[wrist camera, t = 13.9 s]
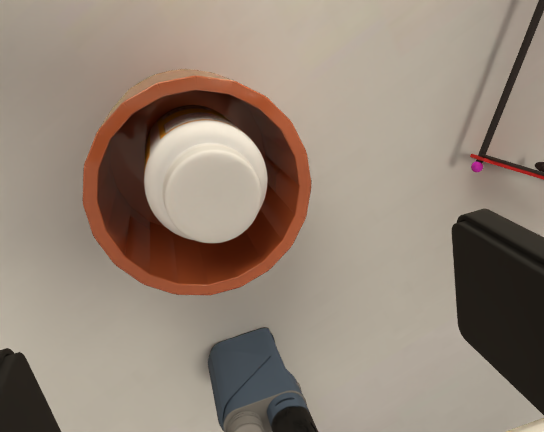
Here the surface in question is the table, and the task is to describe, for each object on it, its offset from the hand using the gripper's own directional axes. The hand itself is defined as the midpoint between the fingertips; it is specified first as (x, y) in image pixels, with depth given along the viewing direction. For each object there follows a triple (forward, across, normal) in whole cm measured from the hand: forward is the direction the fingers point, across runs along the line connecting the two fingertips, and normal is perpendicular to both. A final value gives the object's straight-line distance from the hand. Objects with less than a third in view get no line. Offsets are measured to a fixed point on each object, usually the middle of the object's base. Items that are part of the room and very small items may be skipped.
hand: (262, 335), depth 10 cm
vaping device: (+21, 0, +15) cm, 26 cm away
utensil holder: (+21, 0, +1) cm, 21 cm away
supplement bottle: (+21, 0, 0) cm, 21 cm away
